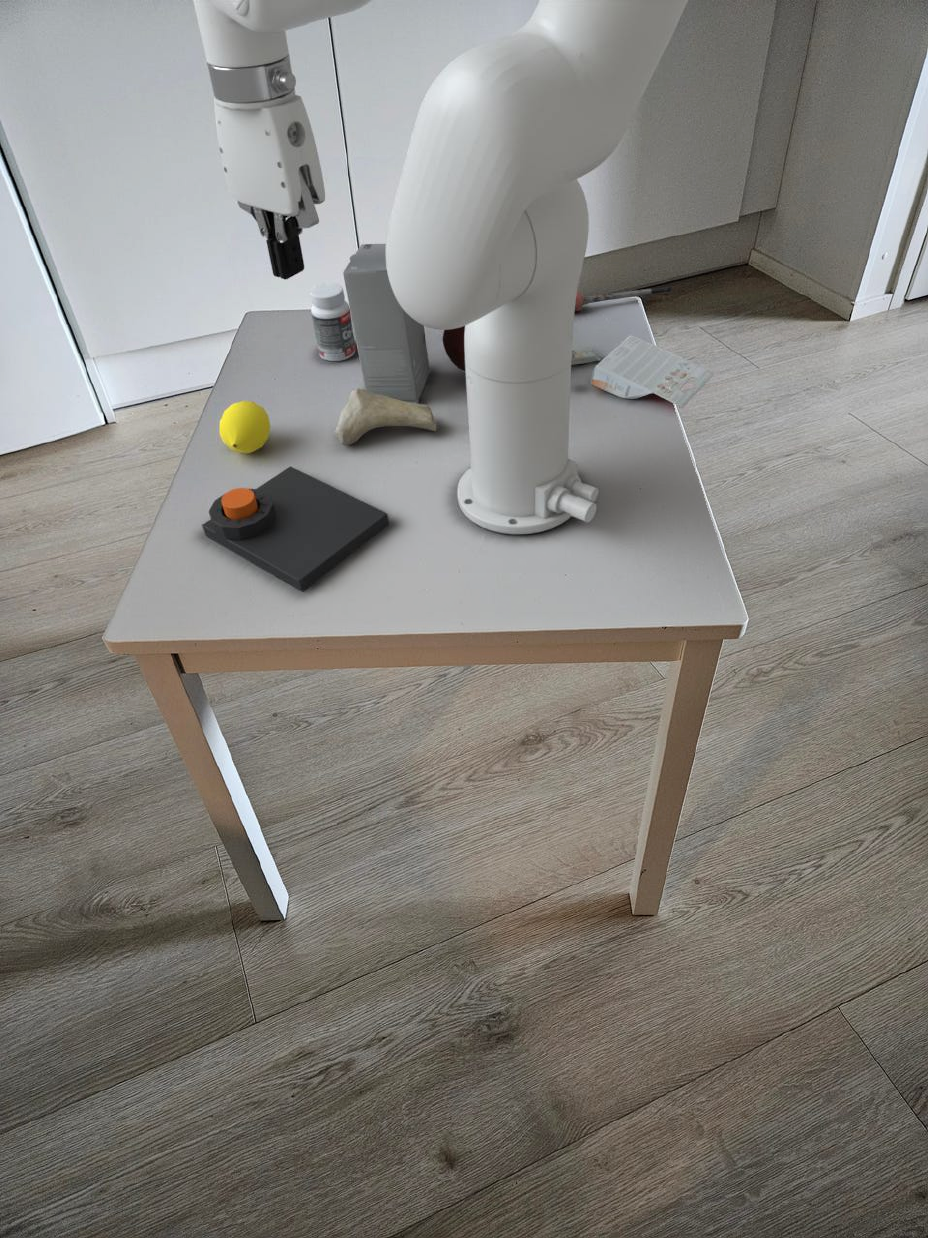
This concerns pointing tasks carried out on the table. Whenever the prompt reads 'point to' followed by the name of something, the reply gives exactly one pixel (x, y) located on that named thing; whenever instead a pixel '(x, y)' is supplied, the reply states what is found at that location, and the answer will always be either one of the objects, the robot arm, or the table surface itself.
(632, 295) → the screwdriver
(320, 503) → the scale
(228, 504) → the button
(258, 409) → the lemon
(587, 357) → the granola bar
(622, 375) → the ink box
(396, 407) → the cream lumpy piece
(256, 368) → the table surface
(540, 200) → the robot arm
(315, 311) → the pill bottle
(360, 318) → the cosmetic box
